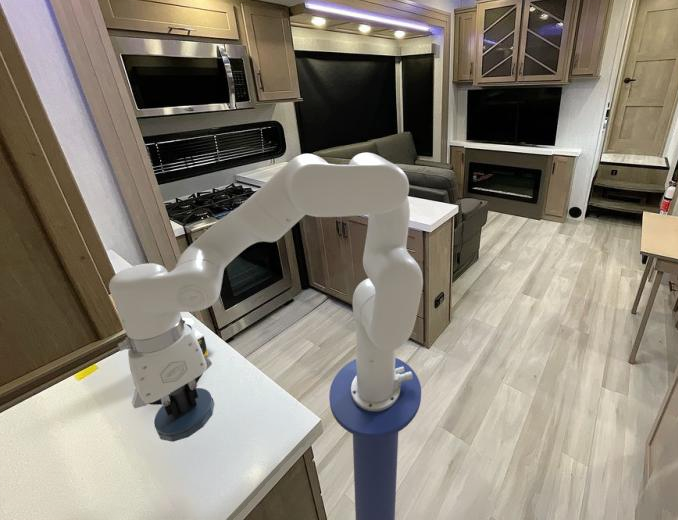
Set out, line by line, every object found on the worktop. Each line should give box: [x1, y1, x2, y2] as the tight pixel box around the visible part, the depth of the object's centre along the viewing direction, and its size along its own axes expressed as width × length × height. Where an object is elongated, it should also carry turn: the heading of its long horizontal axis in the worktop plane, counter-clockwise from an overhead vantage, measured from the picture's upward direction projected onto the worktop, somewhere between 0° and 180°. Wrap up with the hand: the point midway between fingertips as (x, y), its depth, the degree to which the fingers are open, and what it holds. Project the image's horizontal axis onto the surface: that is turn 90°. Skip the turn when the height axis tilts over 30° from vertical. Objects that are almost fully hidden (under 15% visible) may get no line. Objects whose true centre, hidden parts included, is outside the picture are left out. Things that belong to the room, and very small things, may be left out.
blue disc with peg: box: [153, 385, 215, 443], centre depth 61 cm, size 9×9×7 cm
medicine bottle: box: [182, 317, 209, 357], centre depth 88 cm, size 7×7×12 cm
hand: (183, 407), depth 61 cm, fingers closed on blue disc with peg, 2 cm apart
